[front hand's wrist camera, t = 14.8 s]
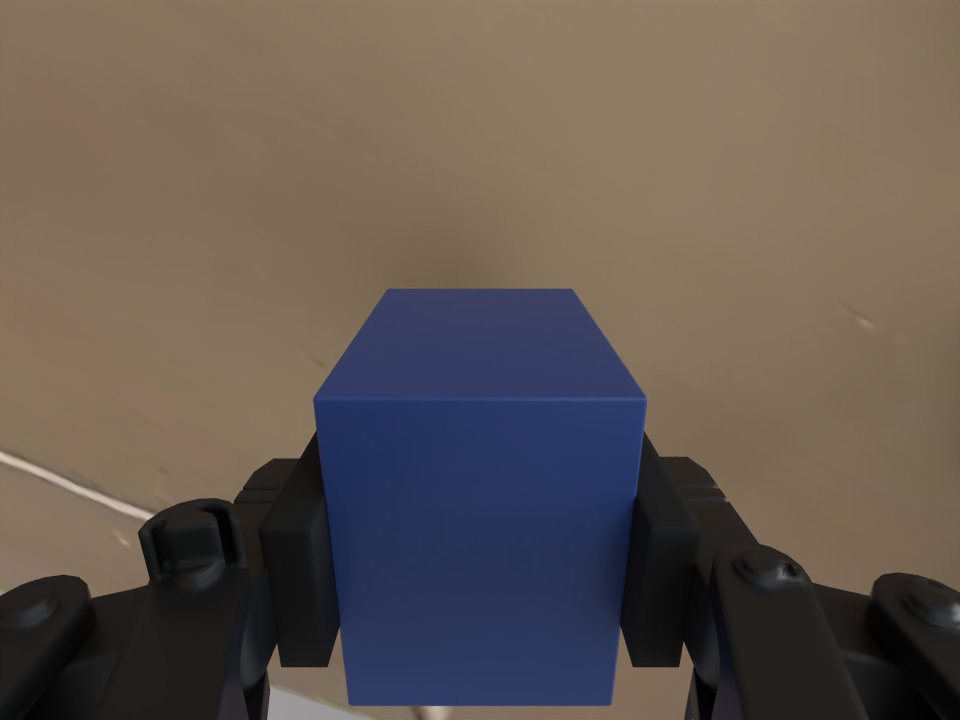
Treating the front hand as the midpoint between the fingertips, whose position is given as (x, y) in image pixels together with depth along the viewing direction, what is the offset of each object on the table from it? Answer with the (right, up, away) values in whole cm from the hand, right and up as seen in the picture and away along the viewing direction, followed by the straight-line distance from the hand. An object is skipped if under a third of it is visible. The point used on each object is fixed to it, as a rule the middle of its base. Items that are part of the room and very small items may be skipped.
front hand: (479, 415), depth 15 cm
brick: (0, 0, +1) cm, 1 cm away
